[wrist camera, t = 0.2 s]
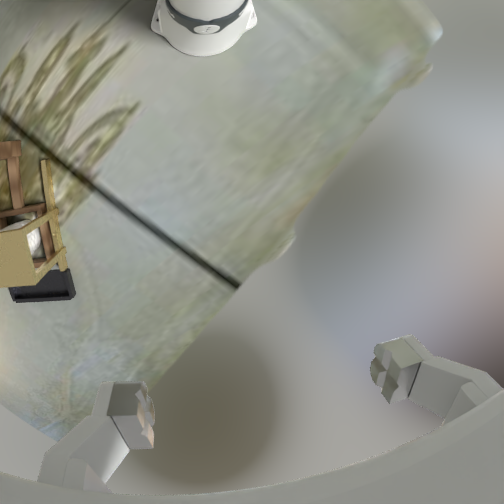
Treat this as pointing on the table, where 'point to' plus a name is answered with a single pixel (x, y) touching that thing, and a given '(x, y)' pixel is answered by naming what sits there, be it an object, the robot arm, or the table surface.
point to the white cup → (32, 237)
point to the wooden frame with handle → (11, 153)
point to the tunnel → (20, 260)
